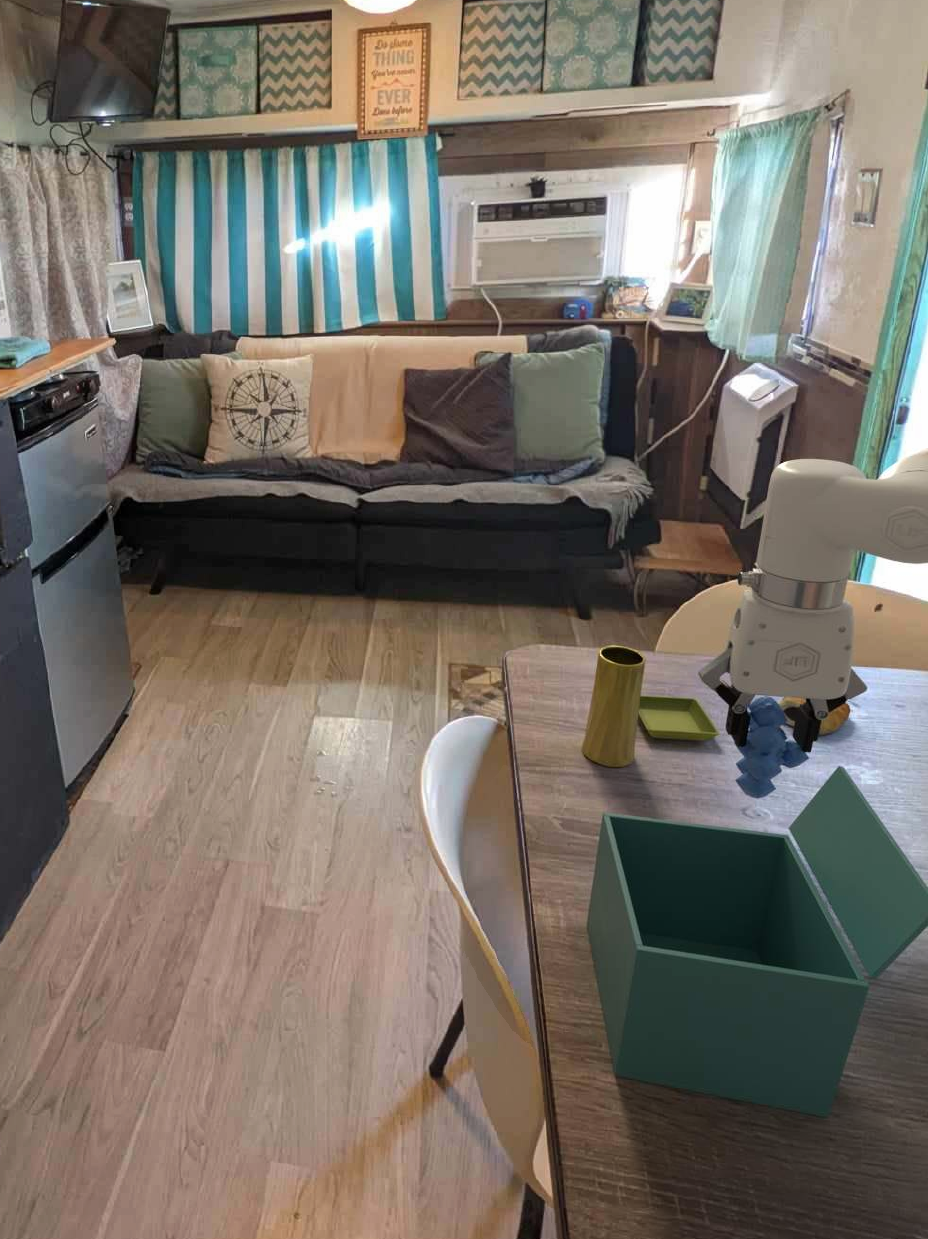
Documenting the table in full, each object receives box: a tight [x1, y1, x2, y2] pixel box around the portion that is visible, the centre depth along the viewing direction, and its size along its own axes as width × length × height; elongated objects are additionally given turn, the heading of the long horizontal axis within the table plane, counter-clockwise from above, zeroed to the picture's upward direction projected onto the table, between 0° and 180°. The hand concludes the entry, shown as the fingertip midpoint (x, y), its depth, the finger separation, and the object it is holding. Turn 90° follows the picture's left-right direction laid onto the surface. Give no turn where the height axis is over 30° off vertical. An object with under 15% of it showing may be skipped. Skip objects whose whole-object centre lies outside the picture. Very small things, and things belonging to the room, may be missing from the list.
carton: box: [586, 812, 870, 1119], centre depth 70 cm, size 15×16×14 cm
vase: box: [581, 645, 647, 768], centre depth 105 cm, size 6×6×14 cm
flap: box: [788, 765, 928, 981], centre depth 64 cm, size 7×16×1 cm
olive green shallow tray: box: [638, 694, 720, 742], centre depth 112 cm, size 9×9×2 cm
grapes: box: [733, 696, 810, 800], centre depth 89 cm, size 12×7×12 cm, turn 150°
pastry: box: [778, 697, 851, 736], centre depth 111 cm, size 9×7×4 cm
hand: (769, 740), depth 89 cm, fingers closed on grapes, 5 cm apart
